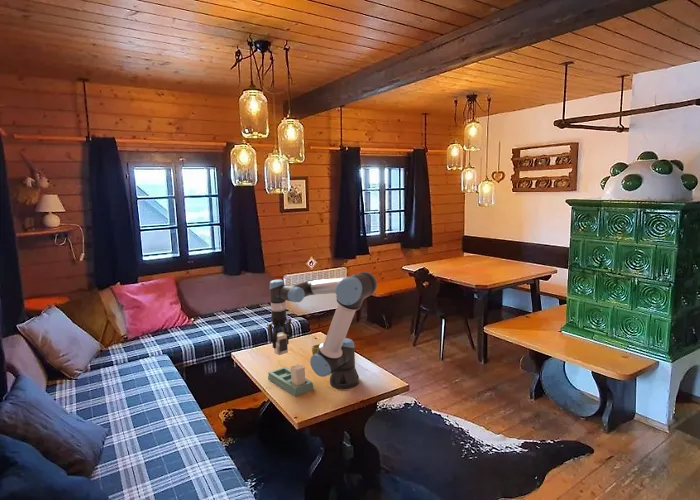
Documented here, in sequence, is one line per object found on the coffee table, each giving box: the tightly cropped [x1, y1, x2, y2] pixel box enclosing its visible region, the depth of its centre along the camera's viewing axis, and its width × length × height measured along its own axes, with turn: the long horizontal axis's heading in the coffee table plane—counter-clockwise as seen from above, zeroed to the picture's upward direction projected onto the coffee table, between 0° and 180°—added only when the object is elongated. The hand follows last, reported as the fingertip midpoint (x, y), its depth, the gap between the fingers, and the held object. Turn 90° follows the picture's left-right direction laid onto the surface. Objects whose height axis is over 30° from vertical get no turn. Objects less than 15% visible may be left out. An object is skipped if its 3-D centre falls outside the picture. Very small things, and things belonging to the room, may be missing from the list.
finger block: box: [276, 331, 289, 356], centre depth 229 cm, size 6×5×10 cm
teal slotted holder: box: [267, 363, 315, 398], centre depth 224 cm, size 26×11×12 cm, turn 40°
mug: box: [311, 343, 321, 356], centre depth 256 cm, size 12×10×10 cm
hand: (281, 351), depth 230 cm, fingers closed on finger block, 5 cm apart
